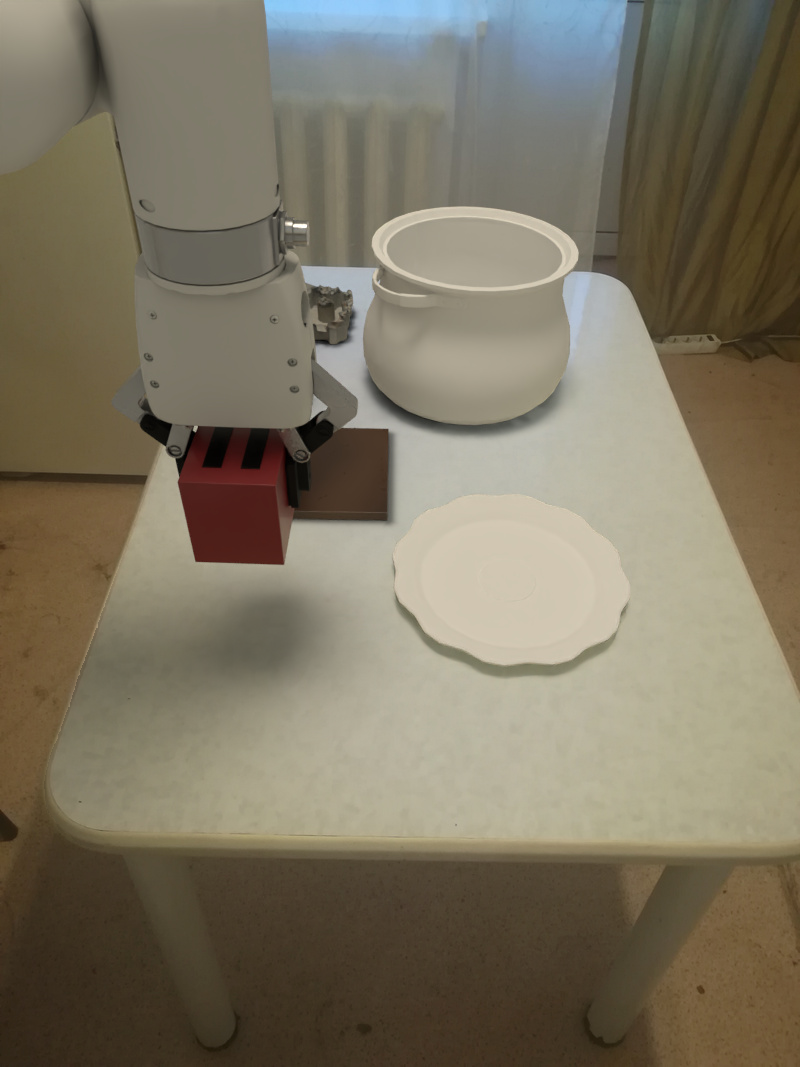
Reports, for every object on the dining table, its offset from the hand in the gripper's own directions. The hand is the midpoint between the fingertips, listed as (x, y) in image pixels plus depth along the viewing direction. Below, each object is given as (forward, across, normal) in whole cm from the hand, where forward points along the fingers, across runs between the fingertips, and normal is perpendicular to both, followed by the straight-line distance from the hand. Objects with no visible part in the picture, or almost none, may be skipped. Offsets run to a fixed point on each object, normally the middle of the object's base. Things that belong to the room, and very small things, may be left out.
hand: (248, 491), depth 53 cm
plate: (+15, -21, -7) cm, 27 cm away
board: (+15, -2, -21) cm, 26 cm away
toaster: (+2, 0, 0) cm, 2 cm away
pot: (+15, -18, -40) cm, 47 cm away
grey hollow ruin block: (+16, 0, -53) cm, 55 cm away
